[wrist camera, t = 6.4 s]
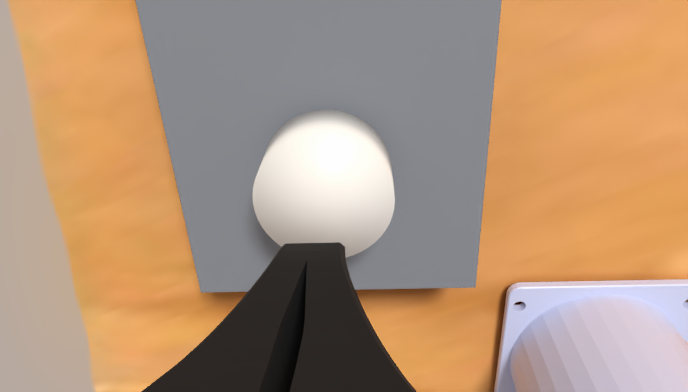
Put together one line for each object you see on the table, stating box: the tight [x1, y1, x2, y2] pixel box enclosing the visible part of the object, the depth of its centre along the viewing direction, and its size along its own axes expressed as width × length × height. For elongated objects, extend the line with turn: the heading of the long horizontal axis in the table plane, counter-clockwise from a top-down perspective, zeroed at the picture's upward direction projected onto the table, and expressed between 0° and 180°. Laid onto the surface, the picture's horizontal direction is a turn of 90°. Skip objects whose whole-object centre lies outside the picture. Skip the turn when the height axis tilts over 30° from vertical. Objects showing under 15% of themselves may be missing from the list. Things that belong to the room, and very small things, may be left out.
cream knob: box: [252, 110, 395, 257], centre depth 17 cm, size 4×4×5 cm
